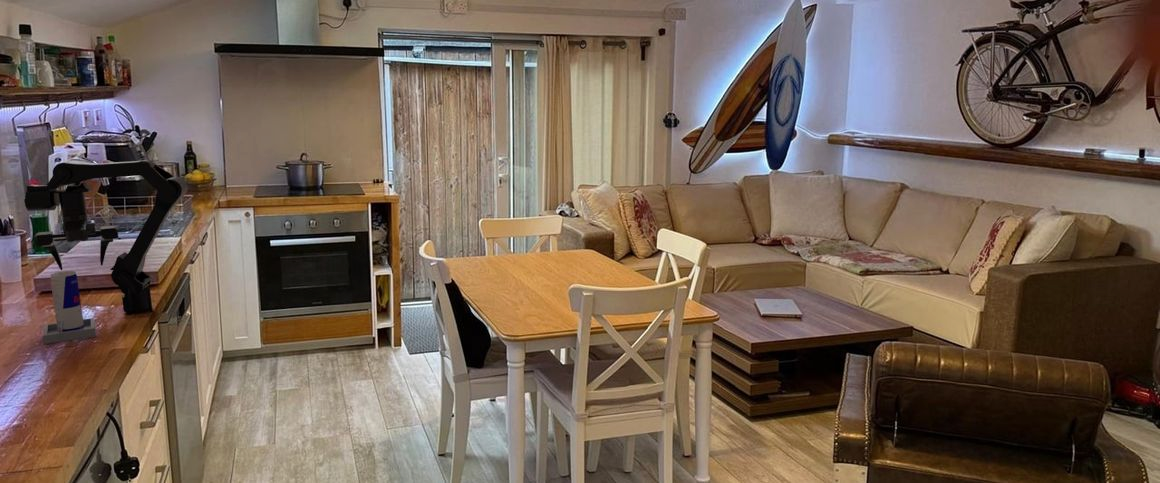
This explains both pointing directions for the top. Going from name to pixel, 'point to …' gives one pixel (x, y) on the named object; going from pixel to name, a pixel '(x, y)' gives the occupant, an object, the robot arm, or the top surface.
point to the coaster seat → (68, 332)
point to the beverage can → (67, 301)
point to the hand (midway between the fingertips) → (81, 267)
